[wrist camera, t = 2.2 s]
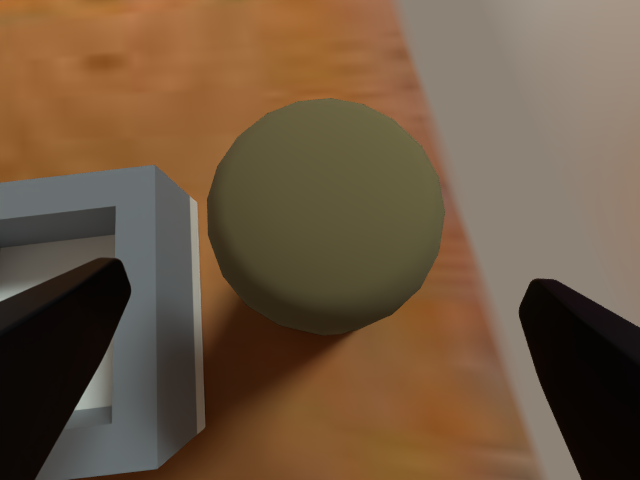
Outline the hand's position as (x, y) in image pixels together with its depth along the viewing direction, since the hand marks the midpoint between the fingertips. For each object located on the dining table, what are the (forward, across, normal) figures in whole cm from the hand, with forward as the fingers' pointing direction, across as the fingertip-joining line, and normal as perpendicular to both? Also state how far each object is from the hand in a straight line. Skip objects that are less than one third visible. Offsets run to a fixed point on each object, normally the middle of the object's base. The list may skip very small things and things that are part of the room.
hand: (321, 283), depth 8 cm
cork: (+8, 0, +6) cm, 9 cm away
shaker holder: (+5, +11, +8) cm, 15 cm away
